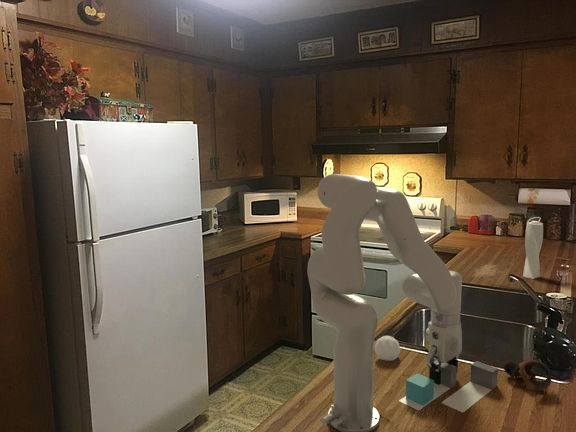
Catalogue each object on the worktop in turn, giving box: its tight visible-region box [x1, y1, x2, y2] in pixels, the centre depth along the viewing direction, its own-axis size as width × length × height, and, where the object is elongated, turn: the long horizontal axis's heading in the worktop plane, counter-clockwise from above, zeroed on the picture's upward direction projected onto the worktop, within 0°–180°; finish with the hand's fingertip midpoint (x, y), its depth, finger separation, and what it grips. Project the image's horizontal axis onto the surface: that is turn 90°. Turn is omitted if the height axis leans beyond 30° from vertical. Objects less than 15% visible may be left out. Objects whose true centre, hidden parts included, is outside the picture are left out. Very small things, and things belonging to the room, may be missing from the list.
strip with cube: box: [398, 360, 458, 411], centre depth 127 cm, size 18×6×6 cm, turn 132°
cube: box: [405, 373, 434, 406], centre depth 124 cm, size 5×5×5 cm
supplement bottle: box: [424, 320, 432, 351], centre depth 152 cm, size 5×5×10 cm
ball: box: [373, 335, 401, 362], centre depth 147 cm, size 8×8×8 cm
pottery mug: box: [502, 359, 552, 392], centre depth 131 cm, size 12×10×8 cm
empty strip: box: [441, 360, 499, 413], centre depth 126 cm, size 18×6×6 cm, turn 132°
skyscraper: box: [522, 216, 544, 280], centre depth 223 cm, size 8×8×28 cm
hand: (443, 376), depth 132 cm, fingers open, 8 cm apart
